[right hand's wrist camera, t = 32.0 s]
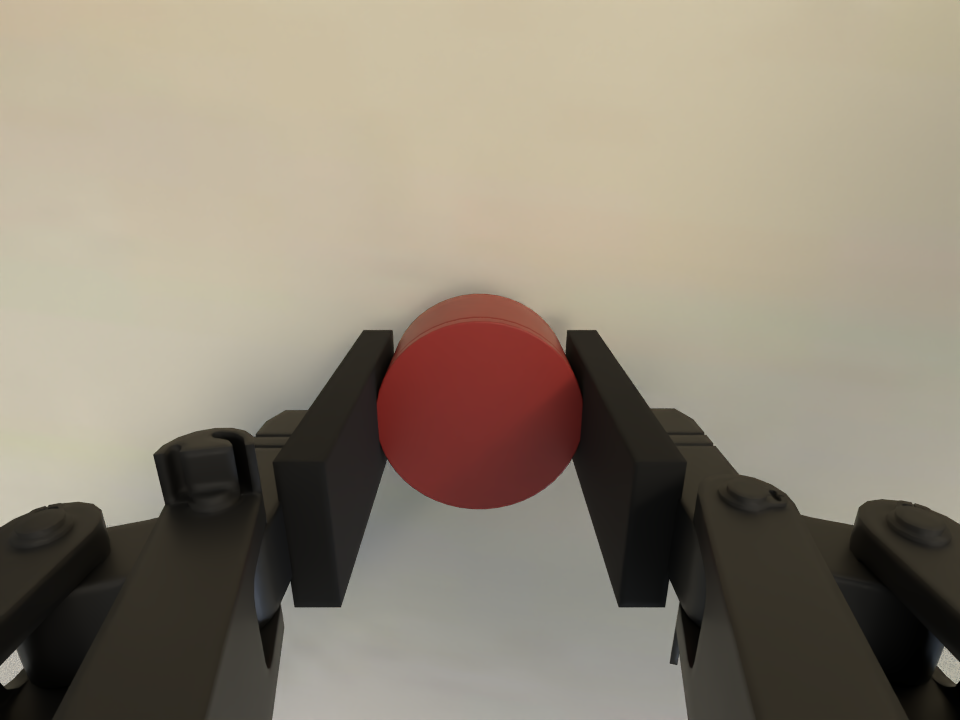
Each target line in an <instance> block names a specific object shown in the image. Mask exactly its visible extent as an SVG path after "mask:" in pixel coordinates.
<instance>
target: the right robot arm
mask: <svg viewBox="0 0 960 720" xmlns="http://www.w3.org/2000/svg"><path fill="white" fill-rule="evenodd" d="M393 355H394V346H393V330H363V332H362V333H361V335H360V336H359V338H358V339H357V340H356V342H355V343H354V345H353V346H352V348H351V349H350V351H349V352H348V353H347V355H346V356H345V358H344V359H343V361H342V362H341V364H340V365H339V366H338V368H337V369H336V371H335V372H334V374H333V375H332V377H331V378H330V379H329V381H328V382H327V384H326V385H325V387H324V388H323V390H322V391H321V392H320V394H319V395H318V397H317V398H316V400H315V401H314V403H313V404H312V406H311V407H310V408H309V410H285V411H283V412H282V413H280V414H278V415H277V416H275V417H273V418H272V419H270V420H268V421H266V423H265V424H264V425H263V426H262V428H261V429H260V430H259V431H258V432H257V434H256V437H253V436H252V435H251V434H249V433H248V432H246V431H244V430H239V429H235V428H213V429H208V430H202V431H196V432H193V433H190V434H187V435H184V436H181V437H178V438H176V439H174V440H172V441H170V442H169V443H167V444H165V445H163V446H162V447H161V448H160V449H159V450H158V451H157V452H156V453H155V454H153V456H154V460H155V464H156V468H157V472H158V476H159V481H160V485H161V489H162V493H163V497H164V501H165V506H164V508H163V510H162V512H161V514H160V516H159V517H158V518H154V519H150V520H146V521H140V522H135V523H130V524H124V525H119V526H114V527H108V528H106V525H105V521H104V518H103V514H102V511H101V509H99V508H98V507H97V506H95V505H94V504H90V503H83V502H72V503H57V504H52V505H48V507H46V506H44V507H41V508H37V509H34V510H32V511H31V512H30V513H27V514H25V515H23V516H20V517H18V518H15V519H13V520H12V521H10V522H8V523H7V524H5V525H4V526H2V527H0V665H1V664H2V663H3V662H4V661H5V660H6V659H7V658H8V657H9V656H10V655H11V654H12V653H13V652H14V651H15V650H17V652H18V655H19V657H20V660H21V662H22V665H23V667H24V668H23V669H22V670H21V672H20V673H19V674H18V675H17V676H16V677H15V678H14V679H13V680H12V681H10V682H9V683H8V684H7V685H5V686H3V685H2V684H1V683H0V720H272V716H273V709H274V701H275V694H276V686H277V678H278V671H279V663H280V656H281V648H282V641H283V633H284V622H283V615H282V609H281V601H282V599H283V596H284V594H285V592H286V590H287V588H288V585H289V583H290V581H291V587H292V593H293V600H294V606H295V607H341V605H342V602H343V599H344V596H345V593H346V589H347V586H348V583H349V580H350V577H351V573H352V570H353V567H354V564H355V560H356V557H357V554H358V551H359V548H360V544H361V541H362V538H363V535H364V532H365V528H366V525H367V522H368V519H369V516H370V512H371V509H372V506H373V503H374V500H375V496H376V493H377V490H378V487H379V483H380V480H381V477H382V474H383V471H384V467H385V464H386V461H387V457H386V455H385V453H384V452H383V449H382V447H381V444H380V441H379V430H378V416H377V397H378V392H379V389H380V386H381V384H382V381H383V379H384V376H385V374H386V371H387V369H388V367H389V364H390V362H391V360H392V357H393ZM566 357H567V360H568V362H569V364H570V366H571V368H572V370H573V372H574V375H575V377H576V379H577V382H578V384H579V387H580V390H581V394H582V398H583V407H582V421H581V435H580V442H579V445H578V447H577V450H576V452H575V454H574V456H573V458H572V459H573V462H574V465H575V469H576V472H577V475H578V478H579V481H580V485H581V488H582V491H583V494H584V497H585V501H586V504H587V507H588V510H589V514H590V517H591V520H592V523H593V526H594V530H595V533H596V536H597V539H598V542H599V546H600V549H601V552H602V555H603V558H604V562H605V565H606V568H607V571H608V574H609V578H610V581H611V584H612V587H613V591H614V594H615V597H616V600H617V603H618V607H665V604H666V597H667V591H668V584H669V579H670V581H671V583H672V586H673V588H674V590H675V592H676V594H677V597H678V599H679V601H680V603H679V609H678V615H677V621H676V627H675V633H674V639H673V645H672V651H671V658H670V664H675V665H677V663H678V658H679V655H680V662H681V670H682V677H683V685H684V692H685V700H686V707H687V715H688V720H960V681H959V683H958V684H955V683H954V682H953V681H951V680H950V679H949V678H948V677H947V676H946V675H945V674H944V673H943V672H942V671H941V670H940V669H939V668H938V666H937V663H938V661H939V658H940V656H941V653H942V651H943V648H944V646H945V647H946V648H947V649H948V650H949V651H950V652H951V653H952V654H953V655H954V656H955V658H956V659H957V660H958V661H959V662H960V524H958V523H957V522H955V521H953V520H952V519H950V518H948V517H947V516H944V515H942V514H940V513H937V512H935V511H932V510H931V509H929V508H928V507H925V506H922V505H919V504H912V503H911V502H906V501H895V500H884V499H880V500H873V501H867V502H866V503H864V504H863V505H862V506H860V507H859V509H858V513H857V516H856V520H855V523H854V525H849V524H844V523H838V522H833V521H828V520H822V519H817V518H812V517H807V516H803V515H800V513H799V511H798V509H797V507H796V505H795V504H794V502H793V501H792V500H791V499H790V498H789V497H788V496H787V494H786V493H784V492H782V491H781V490H779V489H778V488H776V487H775V486H773V485H771V484H769V483H766V482H764V481H761V480H759V479H756V478H753V477H748V476H743V475H739V474H738V473H737V472H736V470H735V469H734V468H733V467H732V466H731V464H730V463H729V462H728V461H727V459H726V458H725V457H724V456H723V455H722V453H721V452H720V451H719V450H718V449H717V447H716V446H713V443H712V441H711V440H710V439H709V438H708V437H707V435H704V432H703V431H702V429H701V428H700V427H699V426H698V425H697V423H696V422H695V421H694V420H693V419H692V418H690V417H688V416H686V415H685V414H683V413H681V412H679V411H678V410H676V409H650V408H649V406H648V405H647V403H646V402H645V400H644V399H643V397H642V396H641V394H640V393H639V392H638V390H637V389H636V387H635V386H634V384H633V383H632V381H631V380H630V379H629V377H628V376H627V374H626V373H625V371H624V370H623V368H622V367H621V366H620V364H619V363H618V361H617V360H616V358H615V357H614V355H613V354H612V353H611V351H610V350H609V348H608V347H607V345H606V344H605V342H604V341H603V340H602V338H601V337H600V335H599V334H598V332H597V331H596V330H567V340H566Z"/></svg>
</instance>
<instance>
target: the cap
mask: <svg viewBox="0 0 960 720" xmlns="http://www.w3.org/2000/svg"><path fill="white" fill-rule="evenodd" d="M582 407H583V398H582V394H581V390H580V387H579V384H578V382H577V379H576V377H575V375H574V372H573V370H572V368H571V366H570V364H569V362H568V360H567V357H566V355H565V353H564V351H563V349H562V347H561V344H560V342H559V341H558V339H557V337H556V335H555V333H554V332H553V331H552V329H551V328H550V327H549V325H548V324H547V323H546V322H545V321H544V320H543V319H542V318H541V317H540V316H539V315H538V314H536V313H535V312H534V311H532V310H531V309H530V308H528V307H526V306H524V305H523V304H521V303H519V302H516V301H514V300H511V299H509V298H505V297H501V296H497V295H490V294H469V295H462V296H458V297H454V298H450V299H447V300H445V301H442V302H440V303H438V304H436V305H434V306H433V307H431V308H429V309H428V310H426V311H425V312H424V313H422V314H421V315H420V316H419V317H418V318H417V319H416V320H415V321H414V322H413V323H412V324H411V325H410V326H409V327H408V329H407V330H406V331H405V333H404V334H403V336H402V338H401V340H400V341H399V344H398V346H397V348H396V351H395V353H394V355H393V357H392V360H391V362H390V364H389V367H388V369H387V371H386V374H385V376H384V379H383V381H382V384H381V386H380V389H379V392H378V397H377V416H378V430H379V441H380V444H381V447H382V449H383V452H384V453H385V455H386V457H387V459H388V461H389V462H390V464H391V465H392V467H393V468H394V469H395V471H396V472H397V473H398V474H399V475H400V476H401V477H402V478H403V480H404V481H406V482H407V483H408V484H409V485H410V486H412V487H413V488H414V489H416V490H417V491H419V492H420V493H422V494H423V495H425V496H427V497H429V498H431V499H433V500H435V501H438V502H441V503H444V504H447V505H451V506H455V507H459V508H468V509H491V508H499V507H504V506H508V505H512V504H515V503H518V502H521V501H523V500H525V499H528V498H530V497H532V496H534V495H535V494H537V493H539V492H540V491H542V490H543V489H545V488H546V487H547V486H549V485H550V484H551V483H552V482H553V481H555V480H556V478H557V477H558V476H559V475H560V474H561V473H562V472H563V471H564V470H565V468H566V467H567V466H568V464H569V463H570V461H571V459H572V458H573V456H574V454H575V452H576V450H577V447H578V445H579V442H580V435H581V421H582Z"/></svg>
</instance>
